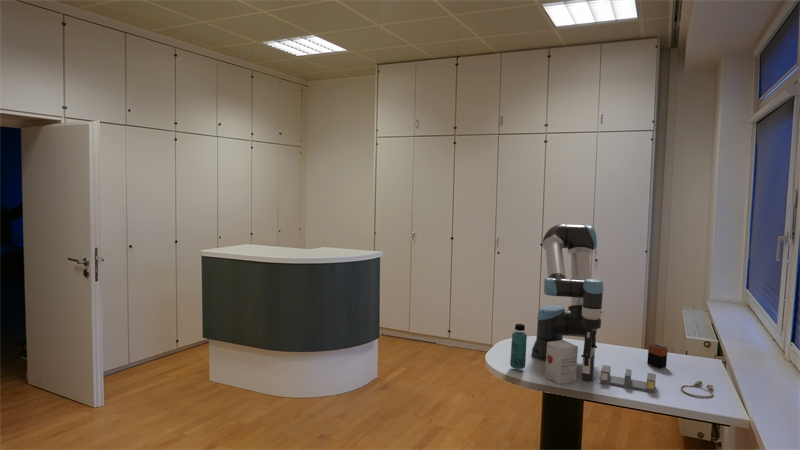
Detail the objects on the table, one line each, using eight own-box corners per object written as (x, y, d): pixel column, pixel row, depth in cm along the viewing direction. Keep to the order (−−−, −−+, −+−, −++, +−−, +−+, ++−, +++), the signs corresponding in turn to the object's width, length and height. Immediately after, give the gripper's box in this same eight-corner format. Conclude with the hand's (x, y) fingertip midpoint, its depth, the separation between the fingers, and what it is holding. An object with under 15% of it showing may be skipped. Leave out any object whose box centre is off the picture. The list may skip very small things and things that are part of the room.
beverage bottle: (513, 366, 231) (515, 321, 229) (527, 369, 227) (530, 324, 225) (507, 370, 226) (509, 324, 224) (521, 374, 222) (524, 327, 220)
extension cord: (727, 396, 206) (728, 391, 206) (697, 401, 201) (698, 395, 201) (700, 384, 217) (701, 379, 217) (671, 388, 212) (671, 383, 212)
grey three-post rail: (600, 382, 215) (600, 371, 214) (602, 376, 222) (603, 364, 221) (654, 393, 205) (655, 380, 205) (655, 386, 213) (655, 374, 212)
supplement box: (544, 376, 220) (546, 341, 218) (561, 373, 224) (563, 339, 222) (559, 384, 212) (561, 348, 210) (576, 381, 215) (578, 346, 214)
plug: (581, 380, 217) (583, 355, 216) (583, 376, 221) (584, 352, 220) (592, 382, 215) (593, 356, 214) (593, 378, 219) (594, 354, 218)
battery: (660, 369, 232) (661, 346, 231) (646, 364, 238) (648, 342, 237) (666, 367, 234) (668, 345, 233) (653, 362, 240) (654, 341, 239)
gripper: (597, 325, 203) (594, 379, 204) (604, 312, 225) (601, 361, 226) (577, 322, 206) (574, 375, 208) (586, 310, 228) (583, 358, 230)
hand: (588, 368), depth 217 cm, fingers open, 13 cm apart
